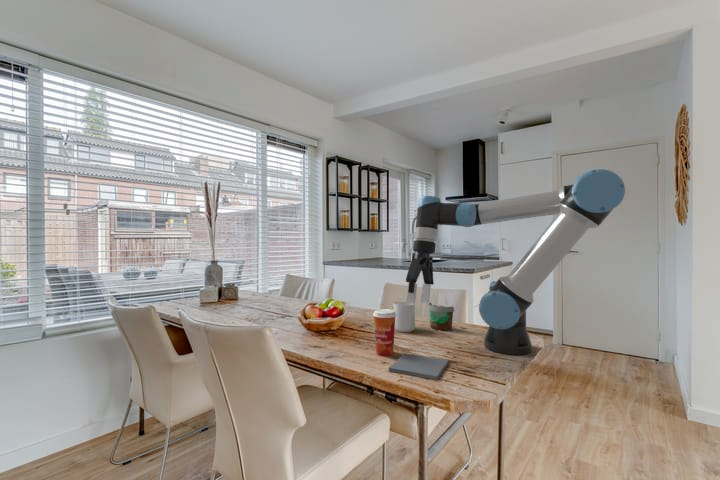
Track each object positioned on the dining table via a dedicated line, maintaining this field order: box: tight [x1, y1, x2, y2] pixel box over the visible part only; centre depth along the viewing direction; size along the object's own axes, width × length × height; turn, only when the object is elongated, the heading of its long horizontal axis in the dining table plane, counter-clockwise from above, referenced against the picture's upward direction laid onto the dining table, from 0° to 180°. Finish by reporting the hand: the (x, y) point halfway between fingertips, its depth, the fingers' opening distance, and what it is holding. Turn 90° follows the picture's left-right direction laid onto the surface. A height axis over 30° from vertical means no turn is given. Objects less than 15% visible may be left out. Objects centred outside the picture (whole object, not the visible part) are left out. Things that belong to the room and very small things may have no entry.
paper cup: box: [372, 308, 396, 357], centre depth 117 cm, size 8×8×14 cm
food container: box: [426, 302, 455, 332], centre depth 148 cm, size 12×6×10 cm, turn 42°
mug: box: [392, 300, 416, 333], centre depth 148 cm, size 12×9×11 cm
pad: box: [388, 353, 449, 381], centre depth 105 cm, size 14×14×1 cm
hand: (418, 302), depth 120 cm, fingers open, 13 cm apart
